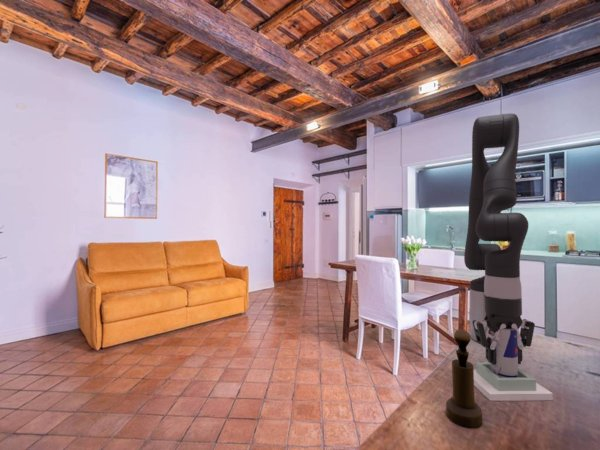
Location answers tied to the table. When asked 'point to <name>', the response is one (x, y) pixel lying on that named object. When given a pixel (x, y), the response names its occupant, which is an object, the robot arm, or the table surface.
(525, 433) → the table surface
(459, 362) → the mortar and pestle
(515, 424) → the table surface
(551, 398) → the baseplate
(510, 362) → the energy drink
